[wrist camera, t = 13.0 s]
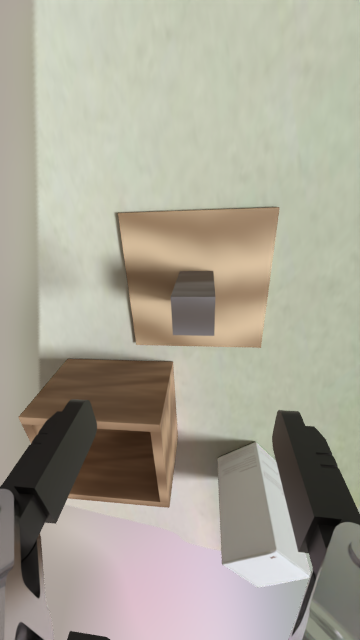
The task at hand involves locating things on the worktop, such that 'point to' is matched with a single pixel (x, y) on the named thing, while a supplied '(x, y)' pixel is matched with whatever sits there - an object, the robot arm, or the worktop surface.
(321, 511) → the robot arm
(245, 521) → the supplement box
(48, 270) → the worktop surface
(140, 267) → the lid
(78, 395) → the box
